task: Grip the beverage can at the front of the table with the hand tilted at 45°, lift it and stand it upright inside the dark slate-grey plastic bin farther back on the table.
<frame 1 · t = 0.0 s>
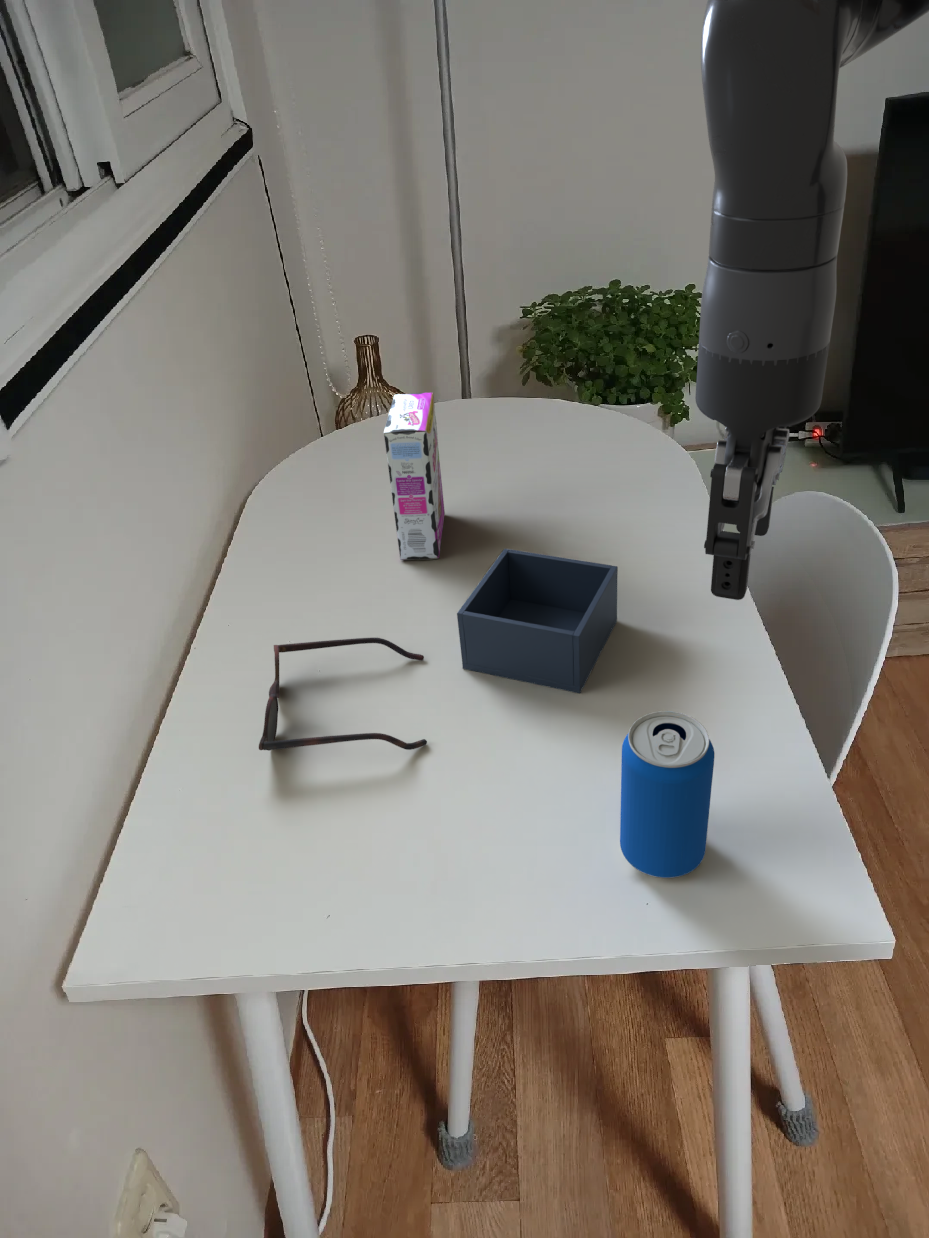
hand: (740, 562, 66), 22 cm above the table, tool pointing down, fingers open, 8 cm apart
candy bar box: (424, 538, 116), on the table
beverage can: (661, 852, 74), on the table
eyeglasses: (350, 709, 91), on the table
bin: (541, 644, 97), on the table
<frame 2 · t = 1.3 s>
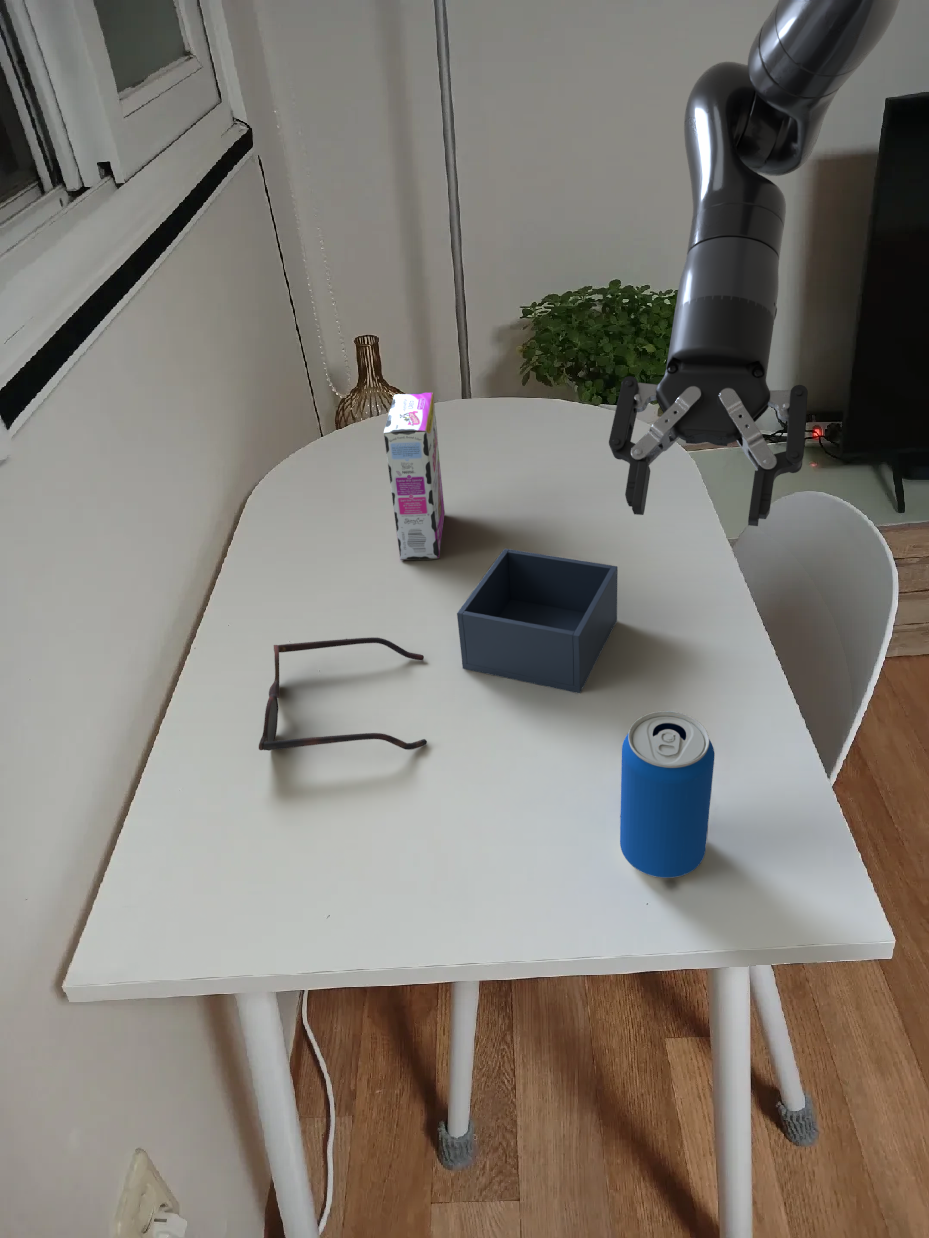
hand: (694, 517, 72), 22 cm above the table, tool tilted 45°, fingers open, 8 cm apart
nothing on the table moved.
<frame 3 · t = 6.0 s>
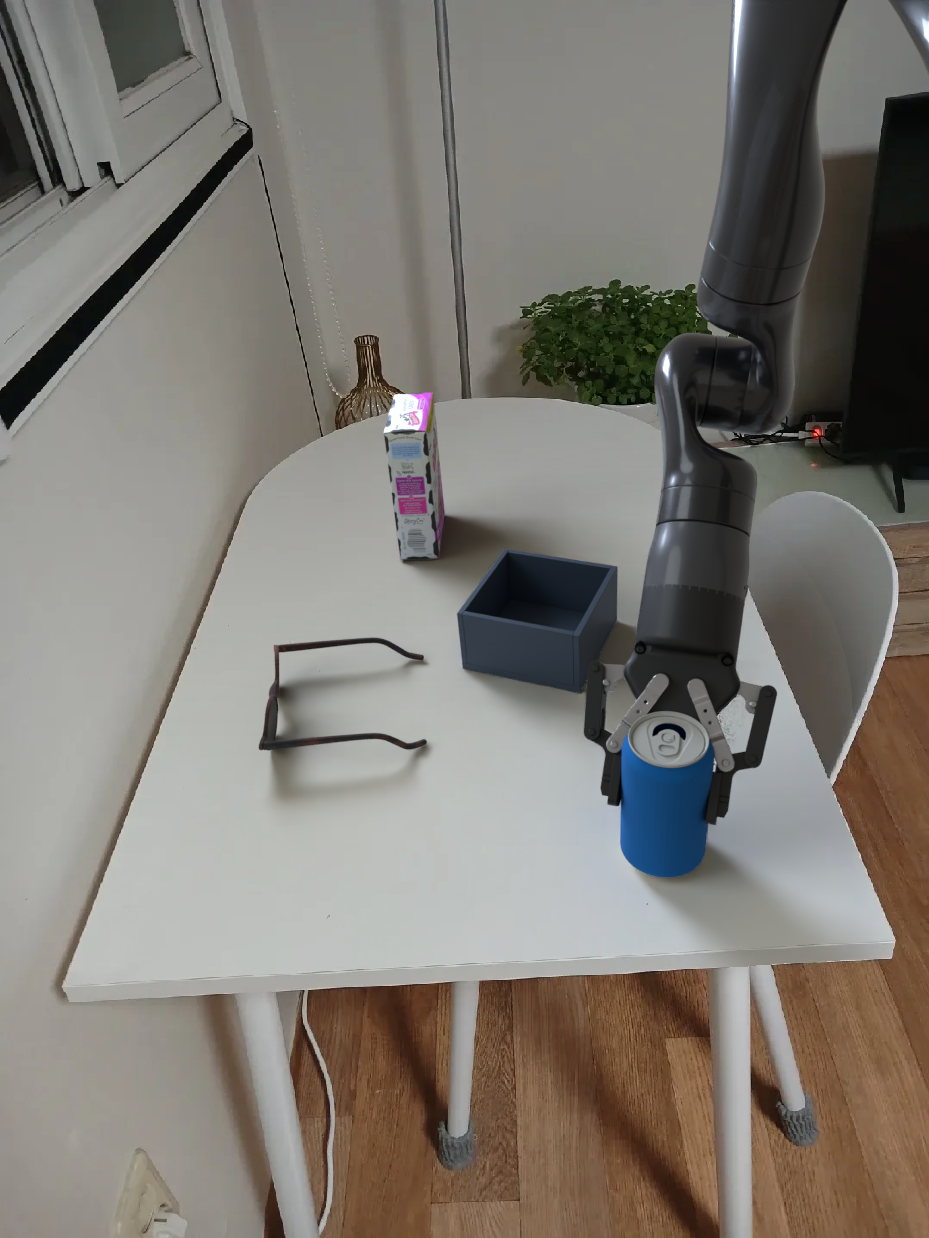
hand: (661, 813, 69), 6 cm above the table, tool tilted 45°, fingers closed on beverage can, 6 cm apart
beverage can: (662, 852, 74), on the table, touching gripper
everything else where it was.
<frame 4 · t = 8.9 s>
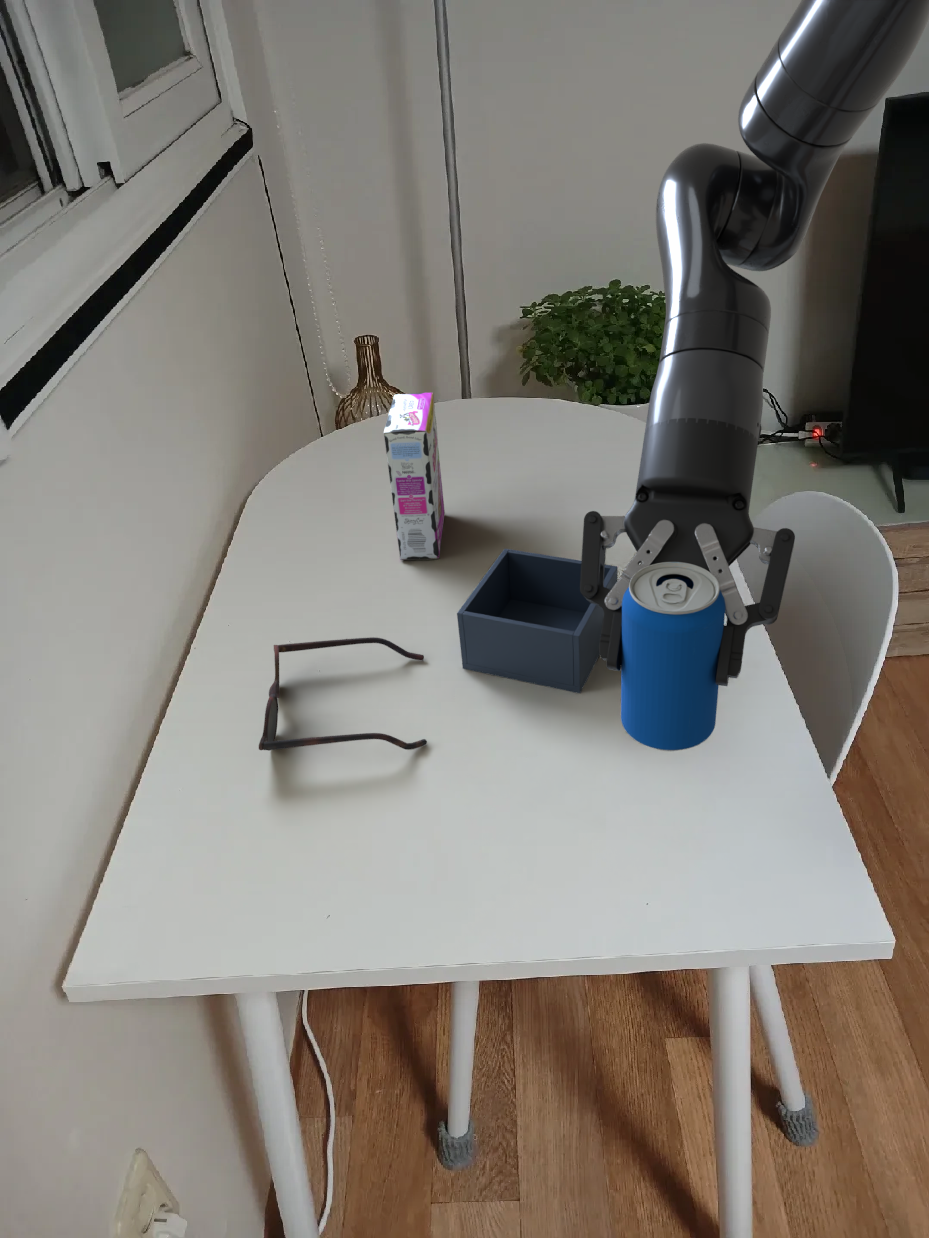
hand: (666, 676, 62), 18 cm above the table, tool tilted 45°, fingers closed on beverage can, 6 cm apart
beverage can: (667, 728, 67), point 12 cm above the table, touching gripper
everything else where it was.
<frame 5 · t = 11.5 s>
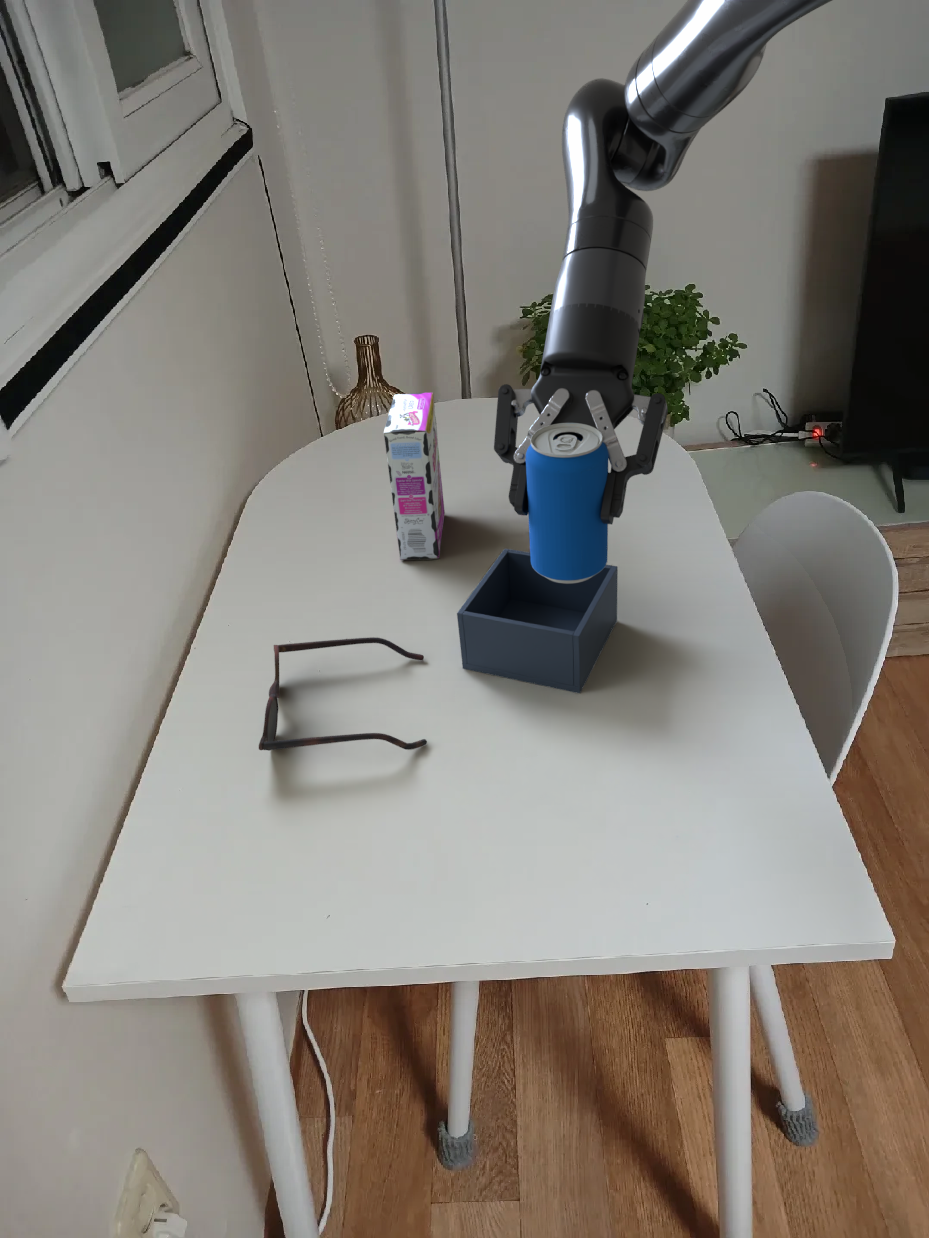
hand: (563, 516, 76), 20 cm above the table, tool tilted 45°, fingers closed on beverage can, 6 cm apart
beverage can: (569, 569, 81), point 14 cm above the table, touching gripper
everything else where it was.
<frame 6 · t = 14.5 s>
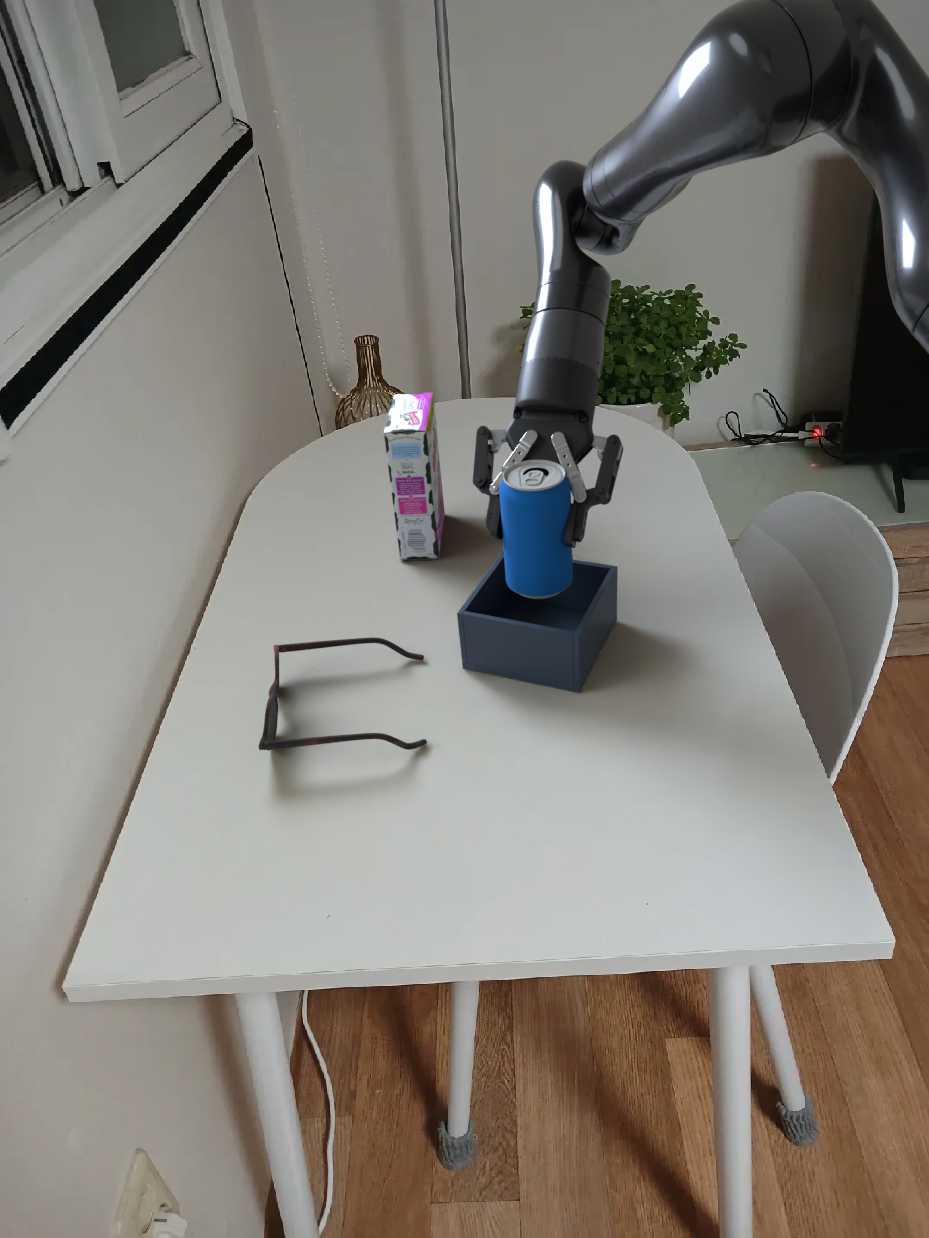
hand: (532, 541, 88), 13 cm above the table, tool tilted 45°, fingers closed on beverage can, 6 cm apart
beverage can: (539, 586, 93), point 7 cm above the table, touching gripper
everything else where it was.
when the fingers open (7 cm above the table, at t = 16.9 s): beverage can stays where it is, resting on bin.
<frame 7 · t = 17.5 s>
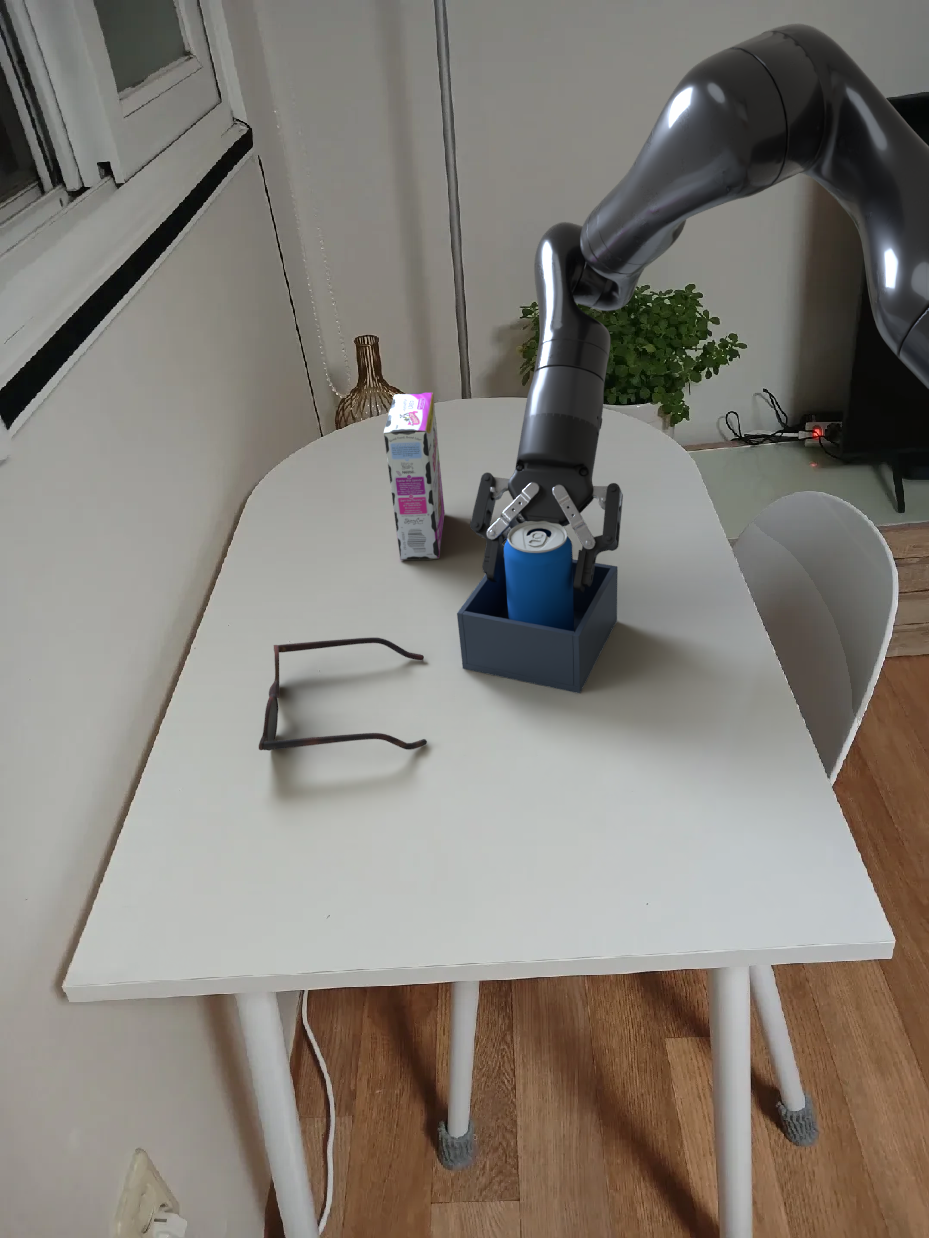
hand: (535, 585, 91), 8 cm above the table, tool tilted 45°, fingers open, 8 cm apart
beverage can: (541, 638, 96), point 1 cm above the table, touching bin
everything else where it was.
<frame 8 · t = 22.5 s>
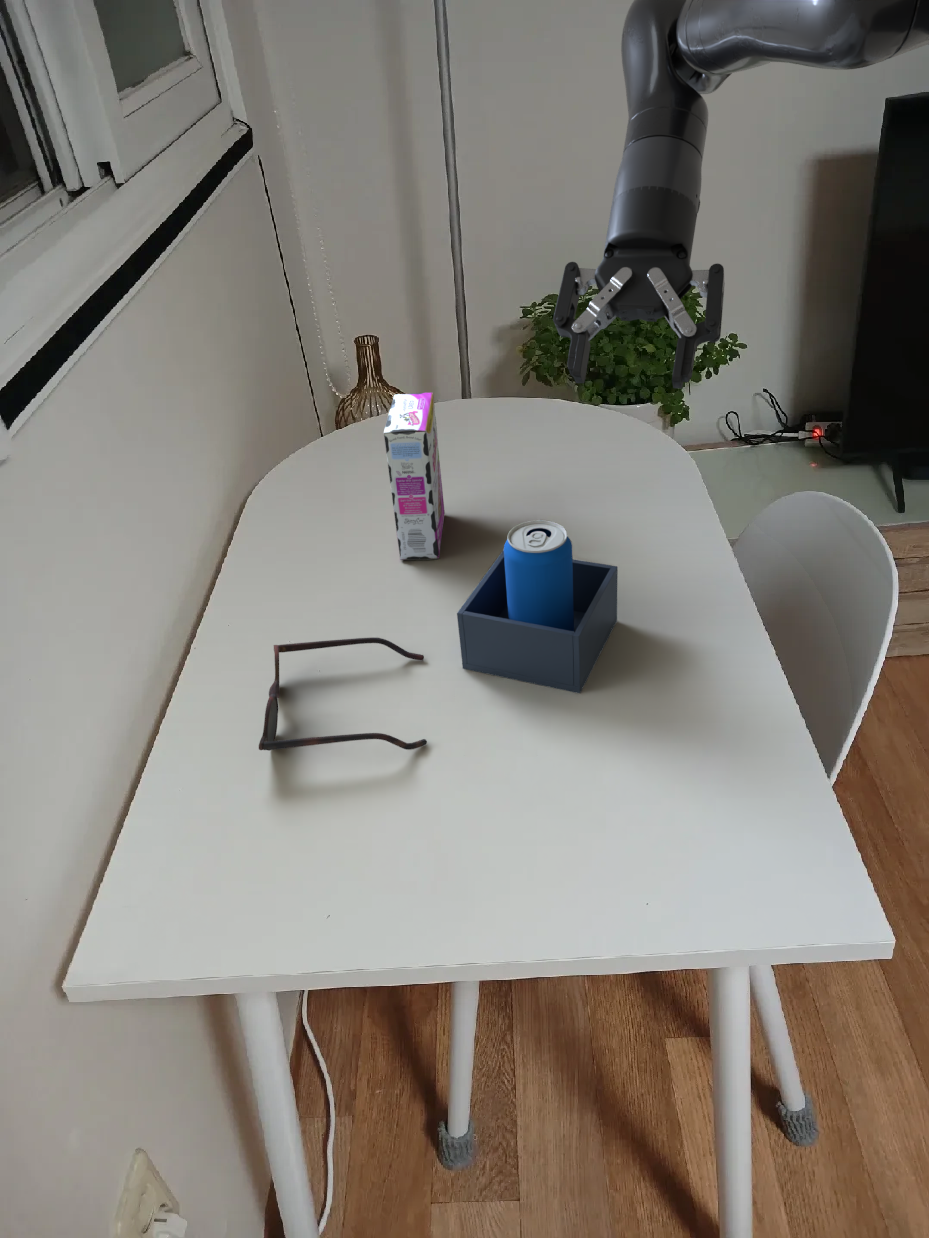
hand: (627, 382, 82), 27 cm above the table, tool tilted 45°, fingers open, 8 cm apart
nothing on the table moved.
at the end: beverage can inside the target area in the bin (0.1 cm from its centre), point 0.6 cm above the bin's base; beverage can tilted 0°; the gripper is holding nothing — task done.
